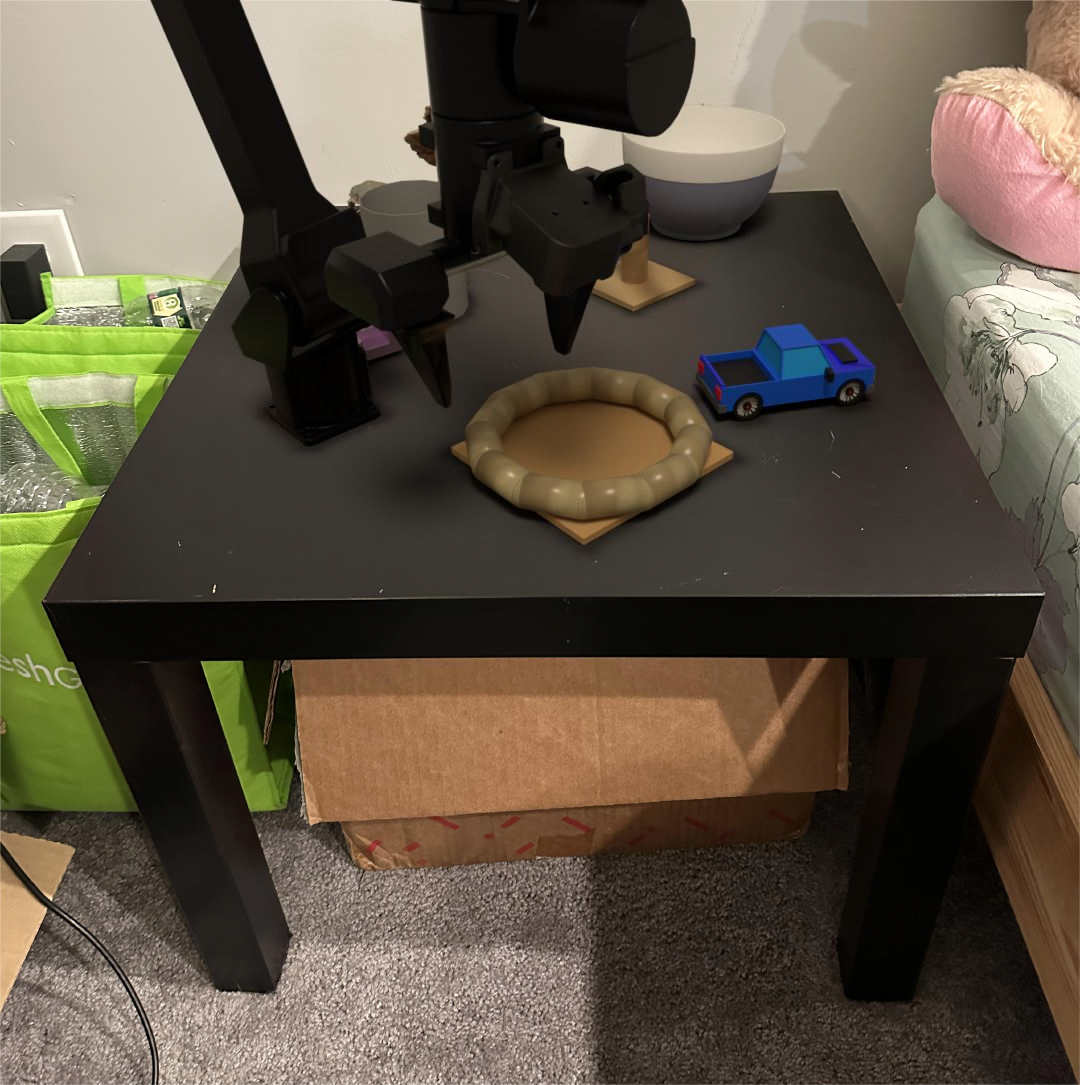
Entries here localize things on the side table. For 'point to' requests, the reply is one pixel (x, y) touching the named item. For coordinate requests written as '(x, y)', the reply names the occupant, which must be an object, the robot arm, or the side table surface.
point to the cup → (410, 224)
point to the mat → (590, 450)
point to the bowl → (707, 169)
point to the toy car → (785, 372)
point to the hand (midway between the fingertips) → (505, 378)
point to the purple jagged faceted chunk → (377, 342)
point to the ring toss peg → (640, 279)
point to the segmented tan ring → (594, 494)
